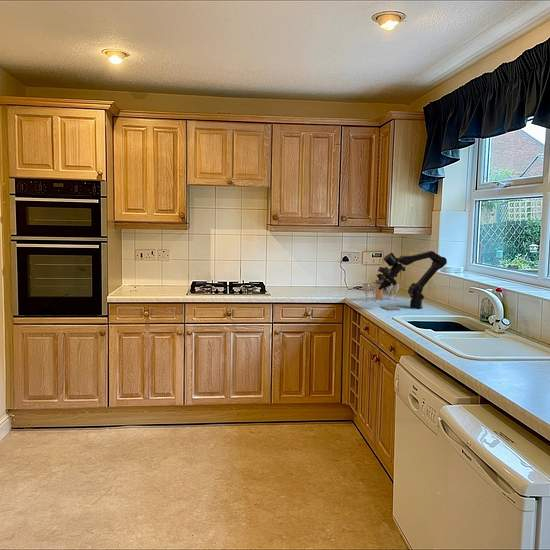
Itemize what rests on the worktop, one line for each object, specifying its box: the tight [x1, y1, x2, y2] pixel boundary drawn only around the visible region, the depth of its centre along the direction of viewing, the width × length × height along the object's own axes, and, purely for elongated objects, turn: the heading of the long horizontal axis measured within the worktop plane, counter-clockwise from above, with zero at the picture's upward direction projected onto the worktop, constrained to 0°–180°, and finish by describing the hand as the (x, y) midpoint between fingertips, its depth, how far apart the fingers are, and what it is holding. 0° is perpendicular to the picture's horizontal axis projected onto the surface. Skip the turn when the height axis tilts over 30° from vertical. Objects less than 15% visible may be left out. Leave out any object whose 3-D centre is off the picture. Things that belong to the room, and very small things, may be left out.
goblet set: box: [362, 281, 401, 302], centre depth 365 cm, size 28×6×13 cm, turn 106°
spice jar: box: [374, 279, 384, 300], centre depth 330 cm, size 5×5×12 cm
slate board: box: [380, 305, 401, 311], centre depth 334 cm, size 8×12×1 cm, turn 13°
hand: (377, 288), depth 330 cm, fingers closed on spice jar, 5 cm apart
